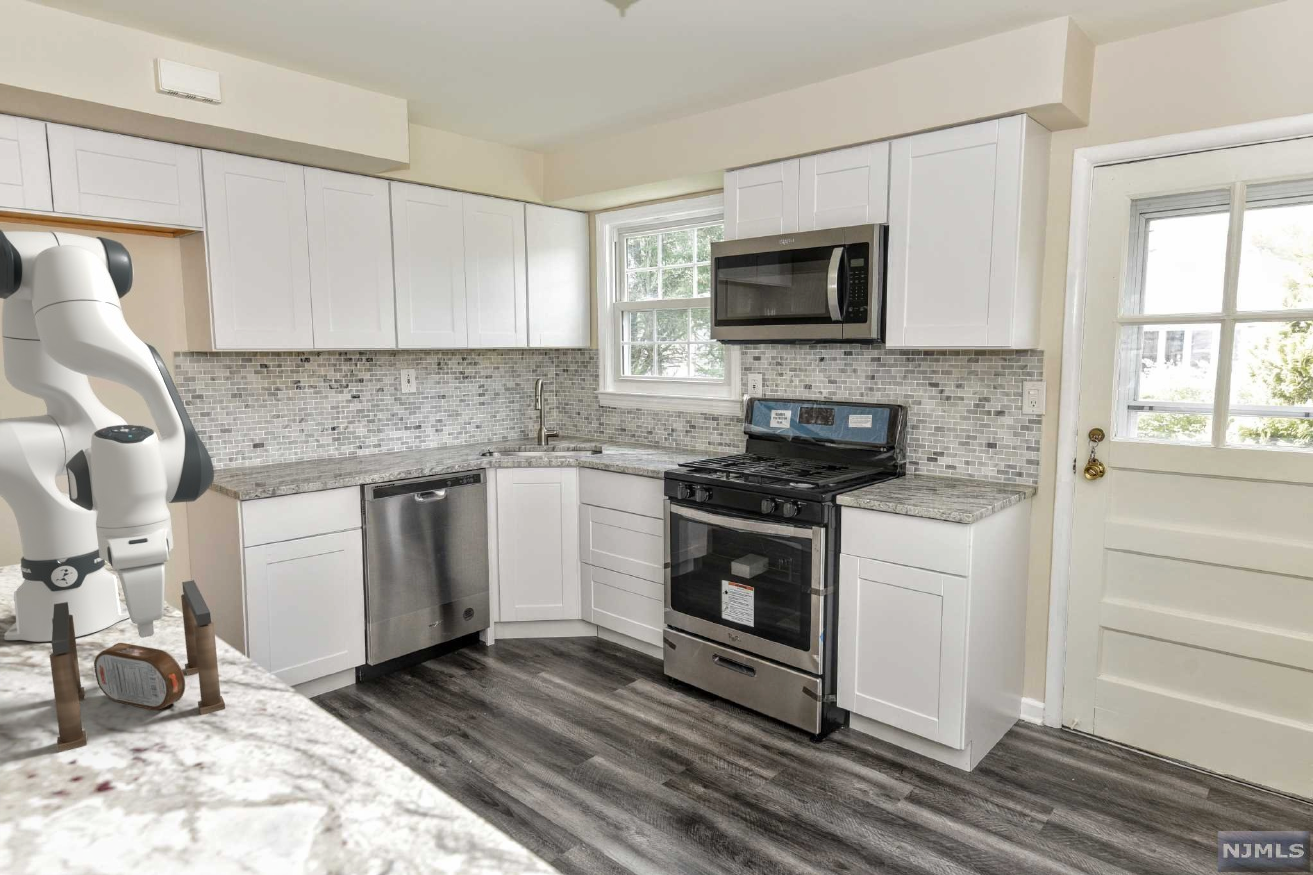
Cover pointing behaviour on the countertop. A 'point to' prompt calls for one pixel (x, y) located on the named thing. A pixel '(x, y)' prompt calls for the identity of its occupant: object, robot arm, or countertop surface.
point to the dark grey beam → (196, 603)
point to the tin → (139, 676)
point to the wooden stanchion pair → (71, 692)
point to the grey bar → (60, 629)
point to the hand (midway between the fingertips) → (146, 633)
